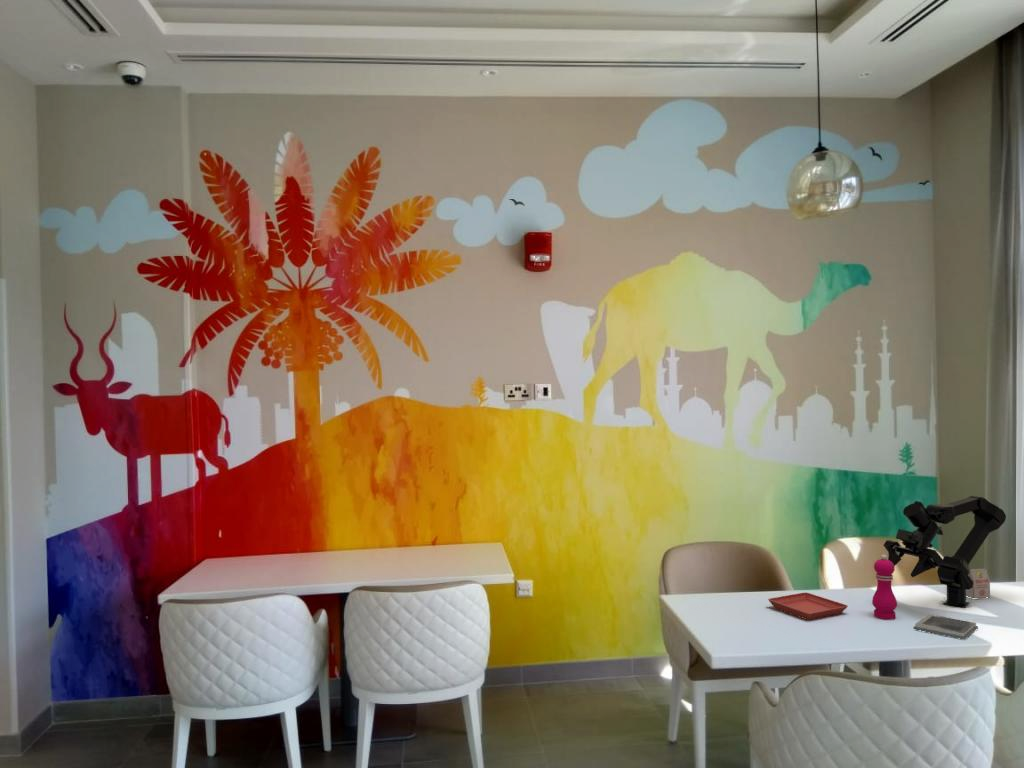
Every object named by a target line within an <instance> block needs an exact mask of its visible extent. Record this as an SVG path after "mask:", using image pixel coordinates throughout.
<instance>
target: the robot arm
mask: <svg viewBox="0 0 1024 768" xmlns="http://www.w3.org/2000/svg"><path fill="white" fill-rule="evenodd" d="M967 513H972V514H973V515H974V516H973V520H974V525H973V527H972V528H971V529H970V530H969V533H968V534H967V535H966V537H965V539H964V540H963V542H962V543H961V544H960V546H959V548H958V549H957V551H955V553H954V554H953V555H952V556H949V555H944V556H943V558H942V556H941V555H940V554H939V553H938V552H937V550H936V549H931V548H933V544H932V543H933V540H934V539H935V538H936V536H937V535H939V536H943V535H944V533H943V529H942V527H941V526H939V525H938V524H940V525H941V524H943V525H948V524H949V523H951V522H953V521H954V520H955V518H956V517H958V516H961V515H964V514H967ZM902 514H903V515H904V516H905V518H906V519H907V520H908V521H909V523H910V524H911V526H913V527H915V528H916V529H915V530H913V531H909V530H906V529H901V528H898V530H897V532H896V536H895V539H896V541H895V540H890V539H887V540H885V542H884V543H883V545H882V546H883V547H884V549H885V550H886V551H887V553H888V556H887V560H889V561H891V562H892V563H893V564H894V567H895V566H897V564H898V563H899V562H900V561H902V558H903V557H904V555H910V556H913V557H917V558H918V560H917V562H916V564H915V566H914V568H913V569H912V571H911V573H910V576H911V578H916V576H919V575H921V574H922V573H925V572H927V571H930V570H931V569H936V568H937V572H936V573H937V576H938V580H939V584H940V585H945V586H946V600H945V601H943V605H945V606H946V605H947V606H952V607H958V608H964V609H965V608H966V607H968V606H967V605H968V604H969V605H970V602H969V601H967V597H966V589H967V590H970V589H971V588H972V587H973V583H974V582H973V581H972V580H971V578H970V577H969V576H968V574H969V569H970V568H969V565H970V563H971V561H972V560H973V558H975V556H976V554H977V552H978V551H979V550H980V548H981V546H982V545H983V544H984V542H985V541H986V539H987V537H988V536H989V534H991V533H993V532H994V531H997V530H999V529H1000V527H1002V525H1003V524H1005V521H1007V520H1006V519H1007V515H1006V513H1005V512H1004V510H1003V509H1002V508H1000V507H999V506H997V505H996V504H994V503H991V502H990V501H988V500H987V498H984V497H983V496H976V495H970V496H968V497H966V498H962V499H959V500H956V501H953V502H949V503H944V504H943V503H935V504H934V503H932V504H928V505H927V506H926V507H925V506H924V504H923V503H922V501H918V500H915V501H914V502H913V503H911V504H908V505H907V506H905V507H904V508H903V510H902ZM937 523H938V524H937ZM897 540H900V541H901V544H902V545H903V546H904V547H903V546H902V545H901V544H900V543H899V542H898V541H897Z"/></svg>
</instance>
